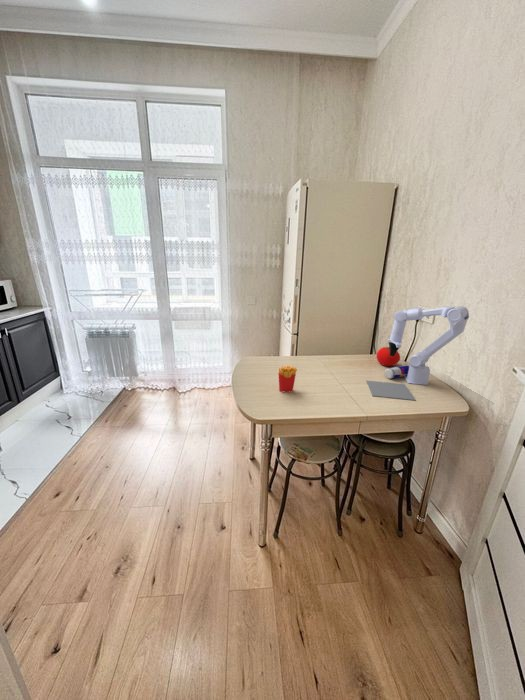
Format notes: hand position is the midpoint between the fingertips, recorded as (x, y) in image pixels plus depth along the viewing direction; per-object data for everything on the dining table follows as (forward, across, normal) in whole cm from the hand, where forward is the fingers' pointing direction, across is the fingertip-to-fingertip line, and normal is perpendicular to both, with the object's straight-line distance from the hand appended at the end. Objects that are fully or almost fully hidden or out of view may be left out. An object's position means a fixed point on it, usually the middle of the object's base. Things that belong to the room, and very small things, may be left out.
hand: (391, 355), depth 157 cm
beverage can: (+8, +9, -2) cm, 12 cm away
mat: (+10, +24, -5) cm, 26 cm away
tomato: (+11, -13, +2) cm, 17 cm away
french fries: (+12, +35, -55) cm, 66 cm away
